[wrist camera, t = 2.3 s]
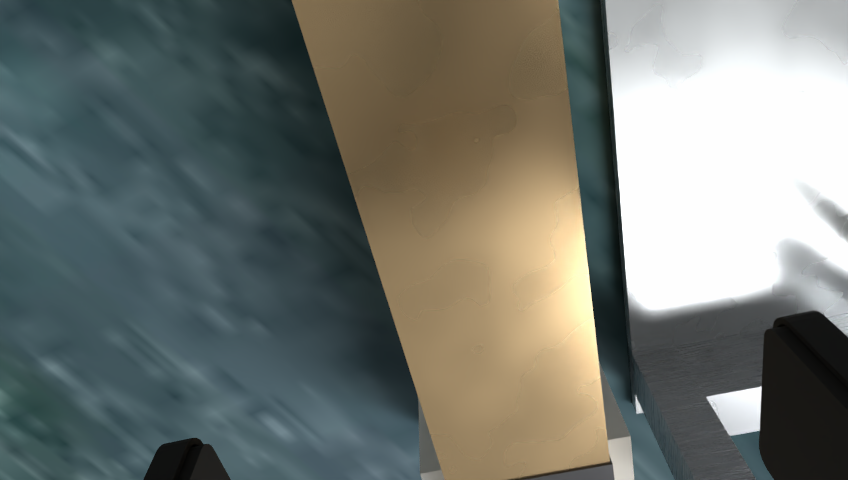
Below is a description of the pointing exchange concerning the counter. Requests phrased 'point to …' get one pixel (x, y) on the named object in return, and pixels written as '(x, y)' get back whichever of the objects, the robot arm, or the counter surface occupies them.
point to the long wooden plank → (472, 221)
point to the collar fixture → (724, 202)
